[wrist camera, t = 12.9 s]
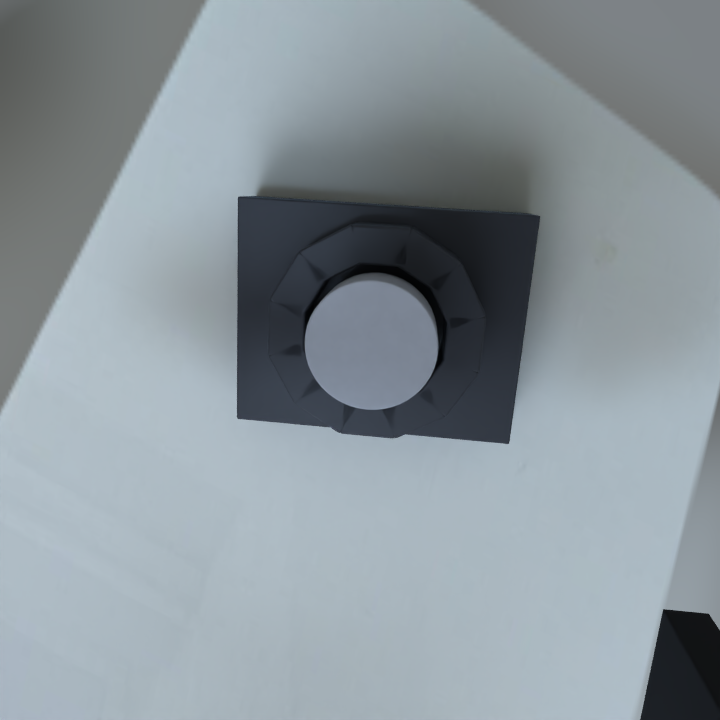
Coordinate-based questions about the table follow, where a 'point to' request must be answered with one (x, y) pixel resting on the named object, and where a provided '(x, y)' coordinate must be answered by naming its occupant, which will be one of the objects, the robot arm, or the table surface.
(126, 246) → the table surface
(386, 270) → the button housing
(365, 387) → the flush button
